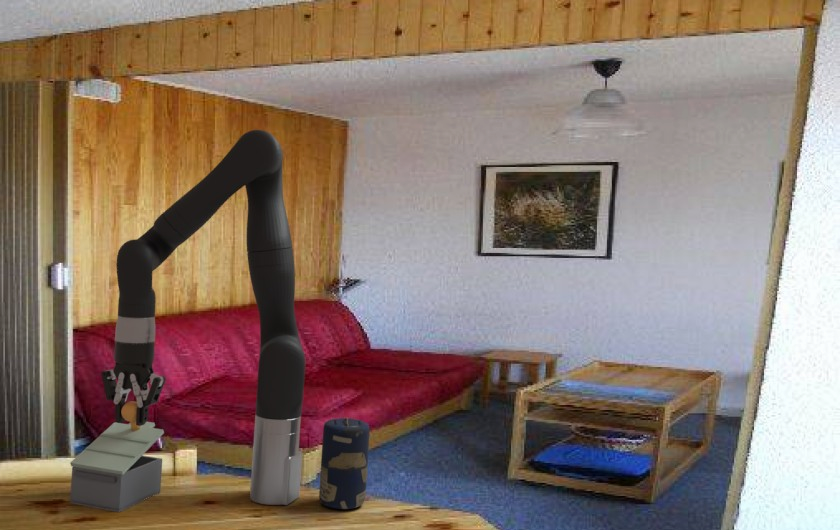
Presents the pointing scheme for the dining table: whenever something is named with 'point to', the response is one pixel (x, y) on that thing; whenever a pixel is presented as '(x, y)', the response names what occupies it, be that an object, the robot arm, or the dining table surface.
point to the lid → (119, 444)
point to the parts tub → (116, 485)
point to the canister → (344, 463)
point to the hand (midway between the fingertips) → (130, 423)
